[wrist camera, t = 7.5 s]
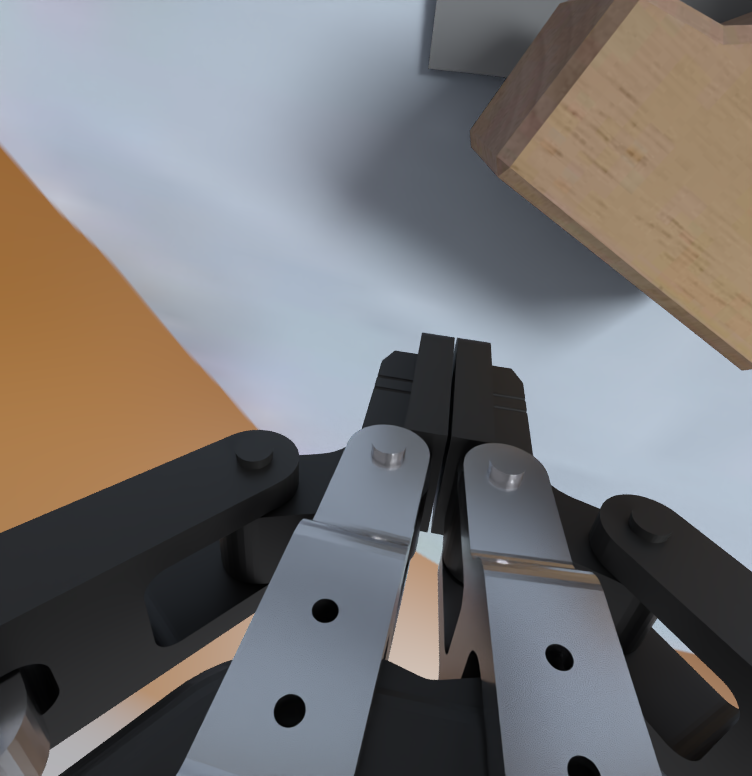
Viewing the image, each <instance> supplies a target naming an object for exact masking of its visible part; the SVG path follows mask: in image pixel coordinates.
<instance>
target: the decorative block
mask: <svg viewBox="0 0 752 776" xmlns="http://www.w3.org/2000/svg"><path fill="white" fill-rule="evenodd" d="M470 139H471V147H472V149H473V150H474V151H475V152H476V153H477V154H478V155H479V156H480V158H481V159H482V160H483V161H484V162H485V163H486V164H487V165H488V167H489V168H490V169H491V170H492V171H493V172H494V173H495V174H496V176H497V177H498V178H500V179H501V180H502V181H503V182H505V183H506V184H507V185H509V186H510V187H511V188H512V189H514V190H515V191H516V192H517V193H519V194H520V195H521V196H522V197H524V198H525V199H526V200H527V201H529V202H530V203H531V204H532V205H534V206H535V207H536V208H538V209H539V210H540V211H541V212H543V213H544V214H545V215H546V216H548V217H549V218H550V219H551V220H553V221H554V222H555V223H556V224H558V225H559V226H560V227H562V228H563V229H564V230H565V231H567V232H568V233H569V234H570V235H572V236H573V237H574V238H575V239H577V240H578V241H579V242H580V243H582V244H583V245H584V246H585V247H587V248H588V249H589V250H591V251H592V252H593V253H594V254H596V255H597V256H598V257H599V258H601V259H602V260H603V261H604V262H606V263H607V264H608V265H609V266H611V267H612V268H613V269H615V270H616V271H617V272H618V273H620V274H621V275H622V276H623V277H625V278H626V279H627V280H628V281H630V282H631V283H632V284H633V285H635V286H636V287H637V288H638V289H640V290H641V291H642V292H644V293H645V294H646V295H647V296H649V297H650V298H651V299H652V300H654V301H655V302H656V303H657V304H659V305H660V306H661V307H662V308H664V309H665V310H666V311H667V312H669V313H670V314H671V315H673V316H674V317H675V318H676V319H678V320H679V321H680V322H681V323H683V324H684V325H685V326H686V327H688V328H689V329H690V330H691V331H693V332H694V333H695V334H696V335H698V336H699V337H700V338H702V339H703V340H704V341H705V342H707V343H708V344H709V345H710V346H712V347H713V348H714V349H715V350H717V351H718V352H719V353H720V354H722V355H723V356H724V357H725V358H727V359H728V360H729V361H731V362H732V363H733V364H734V365H736V366H737V367H738V368H739V369H741V370H750V369H752V12H750V13H747V14H744V15H742V16H739V17H736V18H734V19H731V20H728V21H726V22H723V23H718V22H716V21H714V20H713V19H711V18H709V17H708V16H706V15H704V14H702V13H701V12H699V11H697V10H696V9H694V8H692V7H690V6H689V5H687V4H685V3H683V2H682V1H680V0H569V1H566V2H563V3H560V4H559V5H558V7H557V8H556V9H555V11H554V12H553V14H552V15H551V16H550V18H549V19H548V21H547V22H546V24H545V25H544V26H543V28H542V29H541V31H540V32H539V33H538V35H537V36H536V38H535V39H534V40H533V42H532V43H531V45H530V46H529V48H528V49H527V50H526V52H525V53H524V55H523V56H522V57H521V59H520V60H519V62H518V63H517V65H516V66H515V67H514V69H513V70H512V72H511V73H510V74H509V76H508V77H507V79H506V80H505V81H504V83H503V84H502V86H501V87H500V89H499V90H498V91H497V93H496V94H495V96H494V97H493V98H492V100H491V101H490V103H489V104H488V105H487V107H486V108H485V110H484V111H483V113H482V114H481V115H480V117H479V118H478V120H477V121H476V122H475V124H474V125H473V127H472V128H471V130H470Z"/></svg>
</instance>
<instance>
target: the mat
mask: <svg viewBox="0 0 752 776" xmlns="http://www.w3.org/2000/svg"><path fill="white" fill-rule="evenodd" d="M566 1H569V0H437V2H436V10H435V18H434V26H433V34H432V42H431V50H430V58H429V66H428V69H436V70H445V71H454V72H463V73H472V74H481V75H490V76H499V77H508V76H509V74H510V73H511V72H512V70H513V69H514V67H515V66H516V65H517V63H518V62H519V60H520V59H521V57H522V56H523V55H524V53H525V52H526V50H527V49H528V48H529V46H530V45H531V43H532V42H533V40H534V39H535V38H536V36H537V35H538V33H539V32H540V31H541V29H542V28H543V26H544V25H545V24H546V22H547V21H548V19H549V18H550V16H551V15H552V14H553V12H554V11H555V9H556V8H557V7H558V5H559V4H560V3H563V2H566ZM680 1H682V2H683V3H685V4H687V5H689V6H690V7H692V8H694V9H696V10H697V11H699V12H701V13H702V14H704V15H706V16H708V17H709V18H711V19H713V20H714V21H716V22H718V23H723V22H726V21H728V20H731V19H734V18H736V17H739V16H742V15H744V14H747V13H750V12H752V0H680Z"/></svg>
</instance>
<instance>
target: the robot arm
mask: <svg viewBox="0 0 752 776" xmlns="http://www.w3.org/2000/svg"><path fill="white" fill-rule="evenodd" d="M454 341H455V338H454V337H448V336H441V335H435V334H428V333H422V336H421V341H420V347H419V352H418V354H413V353H407V352H400V351H394V352H393V353H391V354H390V355H389V356H388V357H386V358H385V359H384V360H383V361H382V363H381V366H380V369H379V373H378V377H377V380H376V383H375V387H374V390H373V393H372V396H371V400H370V403H369V406H368V410H367V413H366V416H365V420H364V423H363V426H362V429H361V430H359V431H357V432H356V433H355V434H354V435H353V436H352V437H351V438H350V440H349V441H348V443H347V446H346V447H345V448H343V449H340V450H338V451H335V452H330V453H324V454H312V455H299V453H298V449H297V447H296V446H295V444H294V443H293V442H292V441H291V440H290V439H288V438H287V437H285V436H283V435H281V434H279V433H276V432H272V431H266V430H250V431H244V432H240V433H237V434H234V435H231V436H229V437H226V438H224V439H222V440H219V441H217V442H215V443H212V444H210V445H207V446H205V447H203V448H200V449H198V450H196V451H193V452H191V453H189V454H186V455H184V456H181V457H180V458H177V459H174V460H172V461H170V462H167V463H165V464H163V465H160V466H158V467H155V468H153V469H151V470H148V471H146V472H144V473H142V474H139V475H137V476H134V477H132V478H129V479H127V480H125V481H122V482H120V483H118V484H115V485H113V486H111V487H108V488H106V489H103V490H101V491H99V492H96V493H94V494H92V495H89V496H87V497H85V498H82V499H80V500H78V501H75V502H73V503H71V504H68V505H66V506H63V507H61V508H58V509H56V510H54V511H51V512H49V513H47V514H44V515H42V516H40V517H38V518H35V519H33V520H30V521H28V522H25V523H23V524H21V525H18V526H16V527H14V528H11V529H9V530H7V531H4V532H2V533H0V776H41V775H42V773H43V771H44V769H45V766H46V763H47V760H48V757H49V750H50V749H51V748H53V747H55V746H56V745H58V744H59V743H60V742H62V741H64V740H65V739H66V738H68V737H70V736H71V735H72V734H74V733H75V732H77V731H79V730H80V729H81V728H83V727H84V726H86V725H87V724H89V723H90V722H92V721H93V720H95V719H96V718H98V717H99V716H101V715H102V714H104V713H105V712H107V711H108V710H110V709H111V708H113V707H114V706H116V705H117V704H119V703H120V702H122V701H123V700H125V699H126V698H128V697H129V696H131V695H132V694H134V693H135V692H137V691H138V690H140V689H141V688H143V687H144V686H146V685H147V684H149V683H150V682H152V681H153V680H155V679H156V678H158V677H159V676H161V675H162V674H164V673H165V672H167V671H168V670H170V669H171V668H173V667H174V666H176V665H177V664H179V663H180V662H182V661H183V660H185V659H186V658H188V657H189V656H191V655H192V654H194V653H195V652H197V651H198V650H200V649H201V648H203V647H204V646H206V645H207V644H209V643H210V642H212V641H213V640H214V639H216V638H218V637H219V636H221V635H222V634H223V633H225V632H227V631H228V630H230V629H231V628H233V627H234V626H236V625H237V624H239V623H240V622H242V621H243V620H245V619H246V618H248V617H249V616H250V615H252V614H254V613H255V614H254V616H253V618H252V621H251V623H250V625H249V627H248V629H247V631H246V633H245V635H244V638H243V639H242V641H241V644H240V646H239V648H238V650H237V652H236V654H235V656H234V658H233V660H230V661H227V662H224V663H222V664H219V665H217V666H215V667H213V668H210V669H208V670H206V671H204V672H202V673H200V674H199V675H197V676H195V677H193V678H192V679H190V680H188V681H186V682H185V683H184V684H182V685H181V686H179V687H178V688H176V689H175V690H173V691H172V692H171V693H169V694H168V695H167V696H165V697H164V698H163V699H161V700H160V701H159V702H157V703H156V704H155V705H153V706H152V707H150V708H149V709H148V710H146V711H145V712H144V713H142V714H141V715H140V716H138V717H137V718H136V719H134V720H133V721H132V722H130V723H129V724H128V725H127V726H125V727H124V728H122V729H121V730H119V731H118V732H117V733H116V734H114V735H113V736H111V737H110V738H109V739H107V740H106V741H105V742H103V743H102V744H101V745H99V746H98V747H97V748H95V749H94V750H92V751H91V752H90V753H88V754H87V755H86V756H84V757H83V758H82V759H80V760H79V761H78V762H76V763H75V764H74V765H72V766H71V767H69V768H68V769H67V770H65V771H64V772H63V773H61V774H60V775H59V776H752V572H751V571H750V570H749V569H747V568H746V567H745V566H744V565H742V564H741V563H740V562H738V561H737V560H736V559H735V558H733V557H732V556H731V555H729V554H728V553H727V552H726V551H724V550H723V549H722V548H720V547H719V546H718V545H717V544H715V543H714V542H713V541H711V540H710V539H709V538H708V537H706V536H705V535H704V534H702V533H701V532H700V531H699V530H697V529H696V528H695V527H693V526H692V525H691V524H690V523H688V522H687V521H686V520H685V519H683V518H682V517H681V516H679V515H678V514H677V513H675V512H674V511H673V510H671V509H670V508H668V507H666V506H664V505H663V504H661V503H658V502H656V501H654V500H651V499H649V498H646V497H642V496H637V495H624V494H623V495H616V496H613V497H611V498H609V499H607V500H606V501H605V502H604V503H603V504H602V506H601V508H600V509H599V508H596V507H594V506H592V505H589V504H587V503H584V502H582V501H579V500H577V499H574V498H572V497H570V496H568V495H566V494H564V493H562V492H560V491H559V490H557V489H556V488H554V487H553V486H552V485H551V484H550V480H549V476H548V474H547V471H546V469H545V468H544V466H543V465H542V464H541V463H540V462H539V461H538V460H537V459H536V458H535V457H534V456H533V452H532V445H531V438H530V430H529V423H528V416H527V413H526V411H527V409H526V402H525V394H524V387H523V383H522V381H521V380H520V379H519V378H518V376H517V375H516V374H515V373H514V371H513V370H512V369H510V368H504V367H497V366H492V358H491V343H488V342H481V341H475V340H468V339H462V338H457V340H456V344H455V349H454ZM433 503H434V505H433ZM432 508H433V516H432V527H431V533H435V534H441V535H444V536H443V550H442V554H441V558H440V562H439V566H438V615H439V616H438V617H439V679H438V680H430V679H425V678H423V677H420V676H418V675H416V674H414V673H412V672H410V671H408V670H406V669H404V668H402V667H400V666H398V665H396V664H393V663H392V662H389V661H388V658H389V654H390V649H391V645H392V640H393V636H394V631H395V627H396V623H397V618H398V614H399V609H400V605H401V600H402V596H403V591H404V586H405V582H406V578H407V574H408V569H409V564H410V560H411V558H412V557H413V555H414V553H415V551H416V547H417V542H418V537H419V532H420V531H423V532H428V527H429V522H430V517H431V513H432ZM657 618H658V619H659V620H660V621H661V622H662V623H663V624H664V625H665V626H666V627H667V628H668V629H669V630H670V631H671V632H672V633H674V634H675V635H676V636H677V637H678V638H679V639H680V640H681V641H682V642H683V643H684V644H685V645H686V646H687V647H688V648H689V649H690V650H691V651H692V652H693V653H694V654H695V655H696V656H697V657H698V658H699V659H700V660H701V661H703V662H704V663H705V664H706V665H707V666H708V667H709V668H710V669H711V670H712V671H713V672H714V673H715V674H716V675H717V676H718V677H719V678H720V679H721V680H722V681H724V683H725V684H726V685H727V686H728V687H729V689H730V690H731V692H732V693H733V695H734V697H735V699H736V701H737V703H738V706H739V709H737V708H735V707H734V706H732V705H731V704H729V703H728V702H727V701H726V700H725V699H724V698H722V697H721V695H720V694H718V693H717V692H716V691H715V690H714V689H713V688H712V687H711V686H710V685H709V684H708V683H707V682H706V681H705V680H704V679H703V678H702V677H701V676H700V675H699V674H698V673H697V672H696V671H695V670H694V669H693V668H692V667H691V666H690V665H689V664H688V663H687V662H686V661H685V660H684V659H683V658H682V657H681V656H680V655H679V654H678V653H677V652H676V651H675V650H674V649H673V648H672V647H671V646H670V645H669V644H668V643H667V642H666V641H665V640H664V639H663V638H662V637H661V636H660V635H659V634H658V633H657V632H656V631H655V630H654V629H653V628H652V626H653V624H654V623H655V621H656V619H657Z"/></svg>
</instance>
